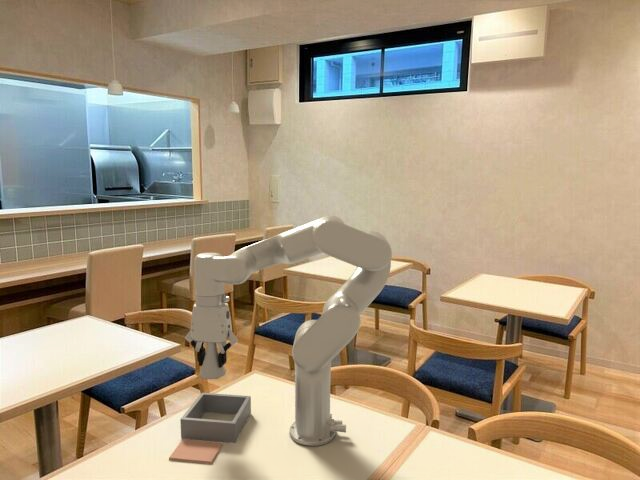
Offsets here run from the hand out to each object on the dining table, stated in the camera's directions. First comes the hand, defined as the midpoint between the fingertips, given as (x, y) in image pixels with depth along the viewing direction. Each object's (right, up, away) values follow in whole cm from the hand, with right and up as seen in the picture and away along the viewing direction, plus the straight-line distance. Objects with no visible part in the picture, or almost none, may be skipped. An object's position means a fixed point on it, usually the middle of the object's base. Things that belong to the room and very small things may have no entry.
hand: (212, 364), depth 126 cm
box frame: (0, -19, +5) cm, 19 cm away
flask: (0, -3, +1) cm, 3 cm away
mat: (-2, -21, -7) cm, 22 cm away
